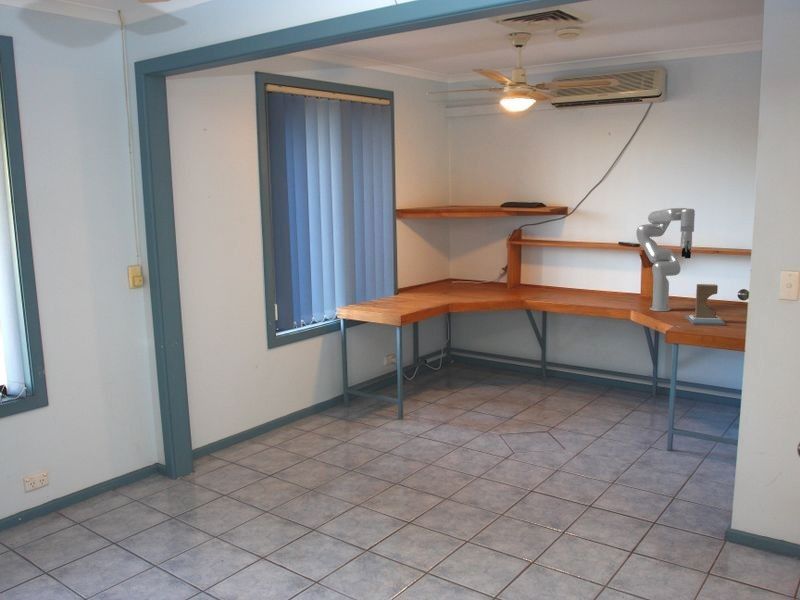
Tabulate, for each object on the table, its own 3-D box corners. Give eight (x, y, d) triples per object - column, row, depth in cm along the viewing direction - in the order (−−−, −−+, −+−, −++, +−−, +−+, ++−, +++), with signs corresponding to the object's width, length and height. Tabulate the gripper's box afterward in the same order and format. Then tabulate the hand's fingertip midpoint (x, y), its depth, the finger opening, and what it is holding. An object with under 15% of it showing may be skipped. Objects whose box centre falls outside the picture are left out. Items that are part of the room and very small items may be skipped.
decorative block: (715, 317, 402) (717, 284, 399) (716, 319, 397) (717, 285, 394) (695, 317, 406) (696, 283, 403) (695, 318, 401) (696, 285, 398)
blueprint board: (684, 317, 414) (684, 313, 414) (714, 317, 411) (714, 313, 411) (693, 324, 391) (693, 320, 391) (725, 325, 388) (725, 321, 387)
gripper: (677, 228, 419) (676, 256, 422) (683, 230, 402) (682, 258, 405) (690, 228, 418) (689, 256, 420) (697, 230, 401) (695, 258, 404)
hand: (685, 257), depth 413 cm, fingers open, 9 cm apart
